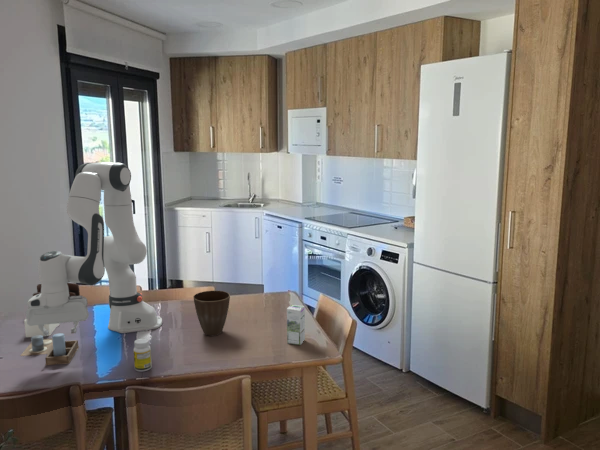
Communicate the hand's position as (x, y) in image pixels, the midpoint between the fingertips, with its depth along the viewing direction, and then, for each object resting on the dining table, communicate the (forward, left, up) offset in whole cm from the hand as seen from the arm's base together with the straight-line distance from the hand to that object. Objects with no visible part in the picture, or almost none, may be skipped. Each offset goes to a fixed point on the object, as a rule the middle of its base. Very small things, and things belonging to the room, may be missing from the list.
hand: (60, 334), depth 188 cm
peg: (0, +1, -9) cm, 9 cm away
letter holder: (+16, -57, -11) cm, 60 cm away
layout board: (+11, -14, -10) cm, 21 cm away
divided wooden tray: (+1, -3, -10) cm, 11 cm away
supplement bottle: (-29, +12, -11) cm, 34 cm away
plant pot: (-54, -18, -11) cm, 58 cm away
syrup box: (-86, -1, -11) cm, 87 cm away
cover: (+15, -33, -10) cm, 38 cm away
